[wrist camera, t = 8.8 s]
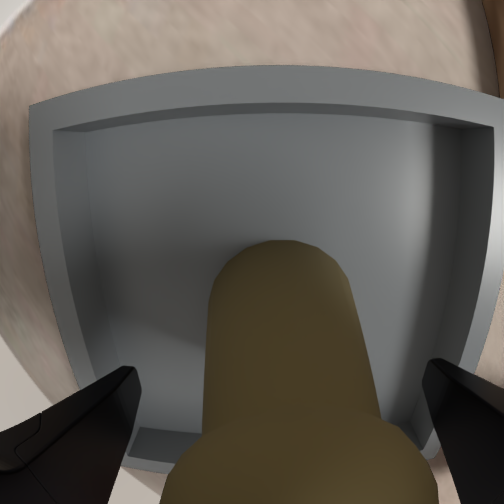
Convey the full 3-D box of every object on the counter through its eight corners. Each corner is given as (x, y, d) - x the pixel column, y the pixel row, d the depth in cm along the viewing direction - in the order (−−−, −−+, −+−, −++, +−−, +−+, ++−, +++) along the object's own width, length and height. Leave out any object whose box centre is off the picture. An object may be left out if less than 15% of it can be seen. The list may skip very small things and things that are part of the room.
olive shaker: (187, 336, 14) (98, 578, 3) (246, 212, 12) (161, 504, 2) (307, 384, 14) (336, 610, 4) (379, 278, 13) (540, 503, 2)
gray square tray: (418, 424, 16) (434, 457, 13) (129, 430, 17) (114, 464, 14) (472, 107, 11) (512, 102, 8) (70, 111, 12) (29, 105, 9)
